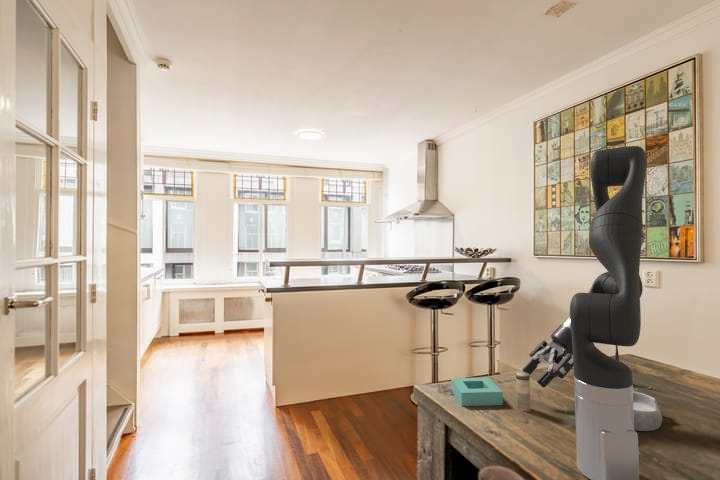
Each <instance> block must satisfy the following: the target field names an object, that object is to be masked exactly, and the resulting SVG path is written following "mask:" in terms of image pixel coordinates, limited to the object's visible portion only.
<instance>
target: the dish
mask: <svg viewBox="0 0 720 480" xmlns="http://www.w3.org/2000/svg"><path fill="white" fill-rule="evenodd" d="M633 410H634V431H636V432H638V431H639V432H652V431H656V430H658V429H659V428H660V427H661V426H662V422H663V417H662V414H661V411H660V408H659V404H658V401H657V399H656V398H655V397H653V396H650V395H648V394H646V393H643V392H639V391H633Z"/></svg>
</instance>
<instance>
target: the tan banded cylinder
mask: <svg viewBox="0 0 720 480" xmlns="http://www.w3.org/2000/svg"><path fill="white" fill-rule="evenodd" d="M530 379H531V374H530V375H529V373H526V372H523V371H517V372H516V373H515V381H516V382H515V383H516V385H515V387H516V408H517V410H519V411H522V412H530V411H531V410H532V408H531V387H530V386H531V385H530V383H531V382H530V381H531V380H530Z"/></svg>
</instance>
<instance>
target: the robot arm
mask: <svg viewBox="0 0 720 480" xmlns="http://www.w3.org/2000/svg"><path fill="white" fill-rule="evenodd" d="M590 159H591V160H590V167H589V169H590V170H589V171H590V182H591V188H592V194H593V195H592V196H593V200H594V205H595V213H594V215H593V217H592V218H591V219H592V220H591V222H590V227H589V228H590V231H589V238H588V244H589V247H590V250H591V252H592V254H593V255H594V256H595V258H596V259H597V260H598V262H600V264H601V265H602V266H603V267H604V268H605V270H606V272H603V273H601V274H599V276H597V277H595V279H594V281H593V283H592V286H591V287H590V288H589V291H588V292H577V293H575V294H574V295H573V296H572V298H571V300H570V304H569V316H568V317H566V319H564V321H562V323H561V324H560V325H559V326H558V327H557V328H556V329H555V330H554V331H553V332H552V333H551V334H550V338H551V340H552V341H551V342H549V343H548V342H547V341H546V340H545V339H543V340H542V341H541V342H540V343H539V344H537V346H536V347H534V349H533V350H532V351H531V352H530V353H529V357H530V361H529V362H528V363H526V365H525V366H524V367H523V368H522V372H526V373H529V375H530V376H531V375H532V373H533V372H535V370H536V369H537V368H538V366H540V365H543V364H548V368H547V370H545V371H544V373H542V374H541V376H539V378H538V379H537V380H536V382H537V383H538V384H539V386H541V387H542V388H546V386H548V385H549V384H550V383H551V382H552V381H553V380H554V379H557V378H560V379H561V380H562V379H564V378H565V376H566V375H567V374H568V373H570V371H571V370H572V369H573V379H574V380H573V381H574V384H573V385H574V419H575V420H574V423H575V444H576V447H575V449H576V468H577V470H578V471H579V472H580V473H581V474H582V475H583V476H584V477H586V478H587V479H589V480H640V460H639V433H637V432H638V431H636V430H634V410H633V388H634V385H633V382H634V381H633V380H634V379H633V378H634V377H633V371H632V369H631V368H630V367H629V366H628V364H625V363H624V362H622V361H620V360H619V361H618V360H615V358H613V357H611V356H609V355H608V354H605V353H604V352H602V351H601V349H599V348H598V347H597V346H596V345H595V344H600V345H601V344H603V345H609V346H612V345H613V346H616V345H617V346H618V347H619V346H620V347H633V346H635V345H636V344H637V343H638V342H639V339H640V334H641V328H642V326H641V325H642V324H641V323H642V322H641V319H642V317H641V316H642V314H641V312H642V311H641V298H642V294H643V290H644V288H643V282H642V279H641V275H640V268H641V267H640V265H641V253H642V241H643V198H644V197H643V196H644V187H645V180H646V176H647V175H646V174H647V165H648V163H647V162H648V161H647V155H646V151H645V150H644V148H643V147H641V146H638V145H629V146H628V145H627V146H621V147H620V146H619V147H613V148H612V147H611V148H605V149H598V150H596V151H594V152H593V153H592V155H591V158H590ZM608 187H609V188H610V187H621V188H620V189H619V190H618V192H617V193H615V194H614V195H613V196H612V197H611V198H610V195H609V191H608ZM594 343H595V344H594Z"/></svg>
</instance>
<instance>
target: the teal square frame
mask: <svg viewBox="0 0 720 480" xmlns="http://www.w3.org/2000/svg"><path fill="white" fill-rule="evenodd" d="M450 381H451V382H450V383H451V384H450V385H451V388H450V389H451V392H452V393H453V395H454V396H455V398H456V400H457V401H458V403H459V404H460V406H461V407H475V406H477V407H478V406H503V405H504V401H503V400H504V399H503V398H504V396H503V391H502V390H501V388H499V387H498V386H497V385H496V384H495V382H494V381H493V380H492V379H490V378H489V376H488V377H457V378H455V377H451V378H450Z"/></svg>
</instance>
